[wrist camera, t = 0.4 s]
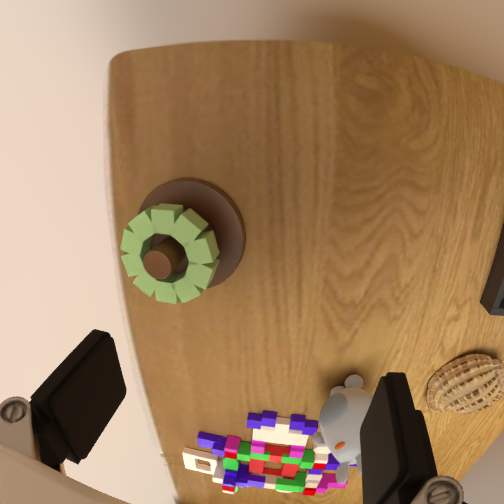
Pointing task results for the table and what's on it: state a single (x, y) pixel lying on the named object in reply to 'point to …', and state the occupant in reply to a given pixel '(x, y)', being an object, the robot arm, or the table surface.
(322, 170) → the table surface
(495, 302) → the tray
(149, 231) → the ring
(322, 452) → the building block set
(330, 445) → the toy figure
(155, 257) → the stand
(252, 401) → the table surface
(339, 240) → the table surface
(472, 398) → the seashell
